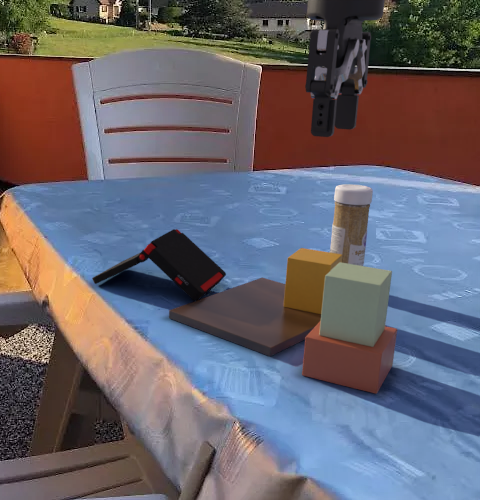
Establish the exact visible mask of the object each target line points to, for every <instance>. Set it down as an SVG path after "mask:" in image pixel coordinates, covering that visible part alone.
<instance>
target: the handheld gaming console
mask: <svg viewBox="0 0 480 500" xmlns="http://www.w3.org/2000/svg"><path fill="white" fill-rule="evenodd" d="M148 260H150V261H151V263H153V264H154V265H155V266H156V267H158V268H159V269H160V270H161V271H162V273H164V274H165V275H166V276H167V277H168V278H169V279H170V280H171V281H172V282H174V284H175V285H176V286H178V287H179V288H180V290H182V292H184V293H185V294H186V295H187V296H188V297H189V298H190V299H191V300H193V301H197V300H200V299H202V298H203V296H205V295H206V294H208V292H210V291H211V290H212V289H213V288H215V287H216V286H217V285H218V284H220V282H221V281H222V280H223V279H225V277H226V276H227V273H226V271H225V270H223V268H222V267H221V266H219V264H217V263H216V262H215V261H214V260H213V259H212V258H211V257H210V256H208V255H207V254H206V253H205V252H204V251H203V250H202V249H201V248H200V247H199V246H198V245H197V244H196V243H195V242H193V240H191V239H190V238H189V237H188V236H187V235H186V234H185V233H184V232H181V231H180V230H179V229H177V228H176V229H175V228H173V229H172V230H169V231H168V232H166V233H164V234H162V235H160V236H158V237H156V238H155V239H153V240H152V241H150V243H148V244H147V245H146V247H145V248H144V249H142V250H141V252H138V253H137V254H134V255H132V256H130V257H128V258H126V259H124V260H122V261H120V262H118V263H117V264H115V265H113V266H111V267H109V268H108V269H106V270H104V271H102V272H100V273H98V274H96V275H95V276H93V277H92V278H91V279H92V282H93V284H95V285H97V284H99V283H101V282H103V281H105V280H107V279H110V278H112V277H113V276H116V275H119V274H121V273H122V272H124V271H126V270H129V269H131V268H133V267H135V266H137V265H139V264H141V263H145V262H146V261H148Z"/></svg>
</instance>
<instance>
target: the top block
mask: <svg viewBox="0 0 480 500" xmlns="http://www.w3.org/2000/svg"><path fill="white" fill-rule="evenodd" d="M286 261H287V262H286V273H285V283H284V284H285V296H284V307H288V308H292V309H297V310H302V311H307V312H312V313H317V314H321V313H322V303H323V293H324V283H325V276H326V275H327V274H328V273H329V272H330V271H331V270H332V269H333V268H334V267H335V266H336V265H337V264H338V263H339V262H341V263H342V254H336V253H330V251H323V250H316V249H310V248H304V247H300V248H298V250H296V251H295V252H294V253H292V254H291V255H290V256H288V257H287V260H286Z"/></svg>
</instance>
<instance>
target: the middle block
mask: <svg viewBox="0 0 480 500" xmlns="http://www.w3.org/2000/svg"><path fill="white" fill-rule="evenodd" d="M392 275H393V271H392V270H388V269H383V268H377V267H370V266H364V265H363V266H359V265H353V264H347V263H341V262H339V263H338V264H337V265H336V266H335V267H334V268H333V269H332V270H331V271H330V272H329V273H328V274H327V275H326V276H325V283H324V293H323V303H322V313H321V323H320V333H319V335H320V336H324V337H329V338H334V339H338V340H343V341H347V342H352V343H356V344H361V345H365V346H370V347H373V346H374V345H375V343H376V342H377V340H378V339H379V337H380V336H381V334H382V333H383V331H384V330H385V326H386V325H387V324H386V322H387V314H388V308H389V307H388V306H389V301H390V300H389V299H390V292H391V284H392Z"/></svg>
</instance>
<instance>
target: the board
mask: <svg viewBox="0 0 480 500" xmlns="http://www.w3.org/2000/svg"><path fill="white" fill-rule="evenodd" d="M285 284H286V283H283V282H280V281H277V280H276V281H275V280H273V279H269V278H265V277H260V278H257V279H254V280H251V281H248V282H246V283H242V284H240V285H237V286H234V287H231V288H229V289H225V290H223V291H220V292H217V293H214V294H212V295H208V296H206V297H202V298H200V299H199V300H197V301H195V300H193V301H191V302H188V303H186V304H182V305H180V306H178V307H175V308H172V309H169V310H168V319H170V320H173V321H176V322H178V323H181V324H184V325H186V326H189V327H191V328H194V329H197V330H199V331H202V332H205V333H207V334H210V335H211V336H214V337H218V338H220V339H223V340H225V341H228V342H231V343H234V344H236V345H239V346H242V347H244V348H247V349H249V350H251V351H255V352H257V353H260V354H262V355H266V356H267V357H272V356H274V355H277V354H278V353H281V352H282V351H285V350H286V349H289V348H291V347H293V346H294V345H297V344H299V343H301V342H303V341H305V338H306V336H307V335H308V334H309V333H310V332H311V331H312V330H313V328H314V327H315V326H316V325H317V324H318V323H319V322H320V321H321V314H317V313H312V312H307V311H302V310H297V309H292V308H288V307H284V296H285Z"/></svg>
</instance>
